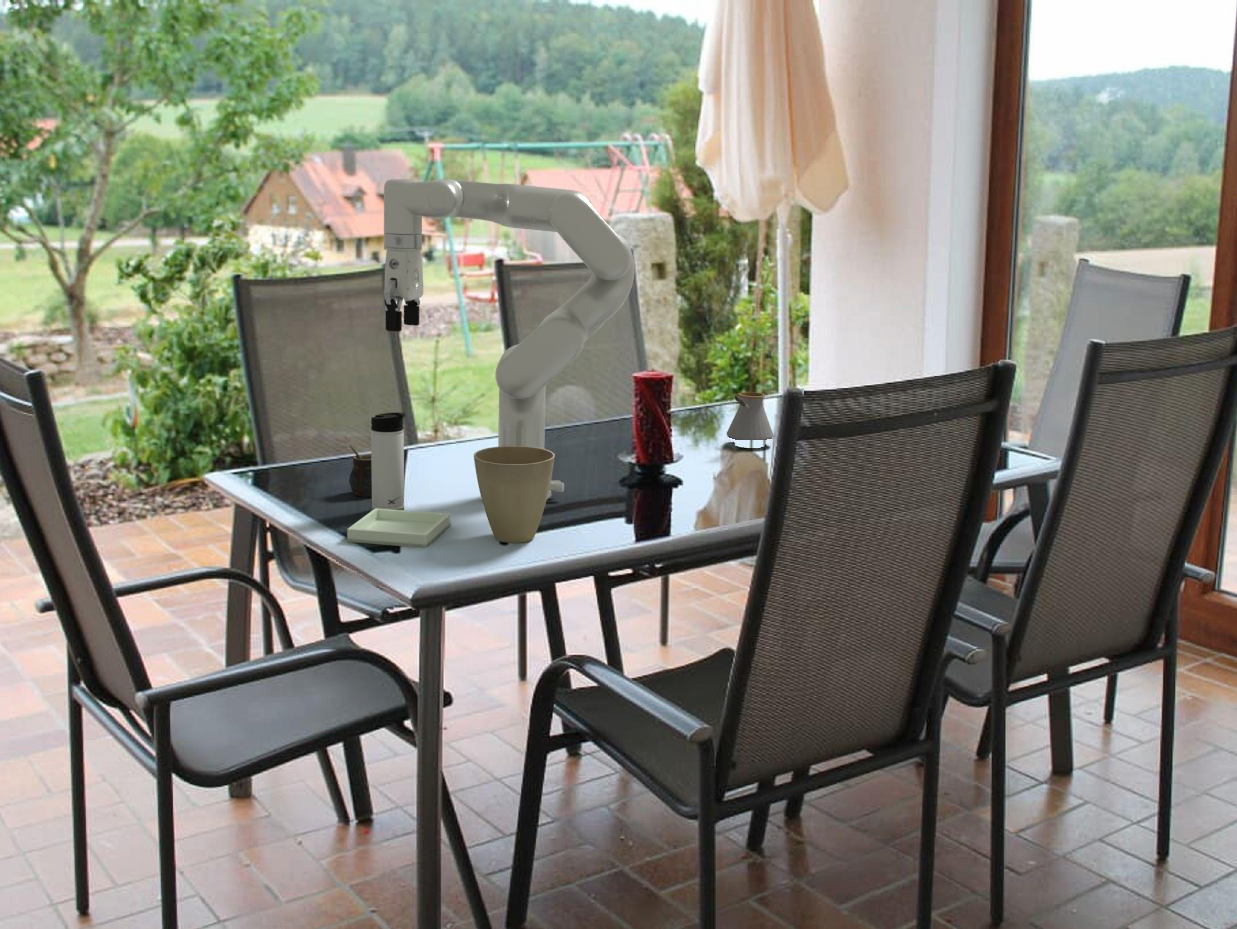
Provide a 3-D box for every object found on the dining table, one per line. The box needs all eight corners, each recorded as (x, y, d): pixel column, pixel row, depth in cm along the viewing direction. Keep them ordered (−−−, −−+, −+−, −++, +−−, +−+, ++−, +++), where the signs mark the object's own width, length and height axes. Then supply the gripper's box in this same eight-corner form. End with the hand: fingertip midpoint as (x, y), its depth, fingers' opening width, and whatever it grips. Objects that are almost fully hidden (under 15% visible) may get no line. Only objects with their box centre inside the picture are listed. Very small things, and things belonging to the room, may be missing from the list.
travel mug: (399, 517, 271) (398, 416, 267) (367, 514, 272) (365, 414, 268) (410, 509, 277) (409, 410, 273) (378, 506, 278) (377, 408, 274)
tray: (450, 526, 266) (450, 513, 266) (426, 547, 252) (426, 535, 251) (375, 520, 269) (375, 508, 268) (347, 541, 254) (347, 529, 254)
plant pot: (482, 525, 268) (482, 443, 264) (558, 529, 266) (560, 447, 263) (465, 546, 253) (466, 461, 250) (546, 551, 252) (548, 465, 248)
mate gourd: (377, 500, 284) (377, 452, 281) (342, 497, 285) (341, 449, 283) (389, 491, 291) (389, 444, 288) (355, 489, 292) (354, 442, 290)
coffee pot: (733, 439, 351) (736, 380, 347) (777, 443, 347) (781, 384, 343) (708, 456, 331) (711, 393, 328) (755, 461, 327) (758, 398, 324)
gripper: (404, 246, 269) (404, 334, 272) (435, 240, 285) (435, 324, 289) (368, 244, 270) (368, 332, 274) (401, 238, 287) (401, 321, 290)
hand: (402, 327), depth 281 cm, fingers open, 9 cm apart
